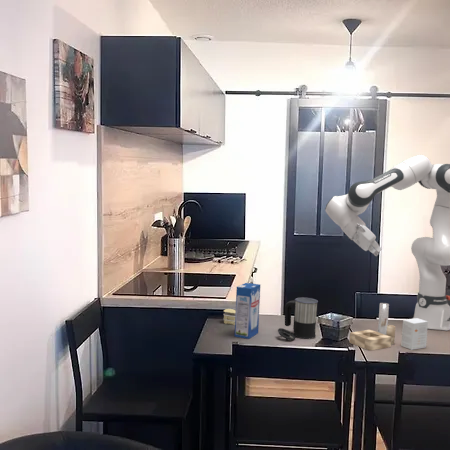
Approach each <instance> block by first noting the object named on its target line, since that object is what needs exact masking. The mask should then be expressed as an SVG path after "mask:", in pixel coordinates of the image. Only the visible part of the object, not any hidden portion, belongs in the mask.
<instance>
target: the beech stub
mask: <svg viewBox="0 0 450 450" xmlns="http://www.w3.org/2000/svg"><path fill="white" fill-rule="evenodd" d="M386 335H387V336H390V337H391V346H392V345H395V342H396V341H395V340H396V339H395V337H396V325H393V324H388V325H387V333H386Z"/></svg>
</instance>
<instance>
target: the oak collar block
mask: <svg viewBox="0 0 450 450" xmlns="http://www.w3.org/2000/svg"><path fill="white" fill-rule="evenodd" d="M349 344H352V345H355V346H357V347H360V348H362V349H365V350H366V351H370V352H371V351H377V350H381V349H387V348H391V346H392V345H391V337H390V336H387V335H384V334H382V333H379V332H378V331H376V330H372V329H366V330H365V329H364V330H359V331H353V332H349Z"/></svg>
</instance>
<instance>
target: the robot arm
mask: <svg viewBox="0 0 450 450" xmlns="http://www.w3.org/2000/svg"><path fill="white" fill-rule="evenodd" d="M417 183H418V184H419V185H420V186H421V187H423V188H425V189H428V190H435V192H436V199H435V200H434V205H433V209H432V212H431V215H430V219H429V224H430V225H429V226H431V228H432V237H430V236H424V237H423V236H422V237H418V238H415V239H414V241H412V243H411V246H410V248H411V254H412V255H413V256H414V258H415V260H416V263H417V267H418V274H419V281H418V282H419V285H418V287H419V288H418V292H417V295H416V297H417V299H416V300H417V302H416V304H415V308H414V314H413V317H412V318H411V319H414V318H419V319H422V320H425V321H428V328H427V330H428V329H429V330H437V331H450V305H449V303H448V301H450V295H447V294H446V288H447V278H446V277H447V276H446V275H445V274H444V272H443V270H442V266H443V267H445V266H446V267H448V266H450V163H435V164H433V163H432V162H431V159H429V158H428V157H427V156H426V155H423V154H418V155H415V156H411V157H409V158H406V159H405V160H402V161H401V162H399V163H397V164H396V165H395V166H394V165H393V167H391V168H390V169H389V170H387V171H385V172H383V173H382V174H380V175H377V176H375V177H374V178H371V179H369V180H365V181H357V182H354V183H353V184H352V185H351V186H350V187H349V189H348V193H347V194H346V193H345V194H343V195H339V196H338V195H334V196H332V197H331V198H330V199H329V200H328V202H327V203H326V205H325V208H324V209H325V213H326V214H327V215H328V217H329V218H330V219H331V220H332V221H333V223H334V224H336V225H337V226H338V227H340V229H341V231H342V232H343V233H344V234H345V235H346V236H347V238H348V239H350V241H352V242H354V243H355V244H356V245H357V246H358V247H359V248H361V249H362V250H363V251H365V252H367V251H369V252H370V253H372V255H374V256H375V257H378V255H379V253H380V252H381V251H382V249H383V248H382V247H381V245H379V243H378V242H377V240H376V238H377V236H376V234H374V232H372V230H371V229H369V228H368V227H367V226H366V225H367V224H366V222H364V221H363V219H362V218H361V217H359V216H360V215H361V214H363V213H365V211H366V210H367V209H368V207H369V205H370V203H371V202H372V201H373V200H374V198H375V196H376V195H378V194H380V193H381V192H383V191H385V190H388V189H389V188H393V189H395V190H397V191H402V190H405V189H408V188H410V187H412V186H413V185H416V184H417Z"/></svg>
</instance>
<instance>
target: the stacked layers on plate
mask: <svg viewBox="0 0 450 450" xmlns="http://www.w3.org/2000/svg"><path fill="white" fill-rule="evenodd" d="M235 314H236V309H232V308H225V309H224V310H223V318H222V320H223V323H224V324H226V325H227V324H228V325H233V326H235Z"/></svg>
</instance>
